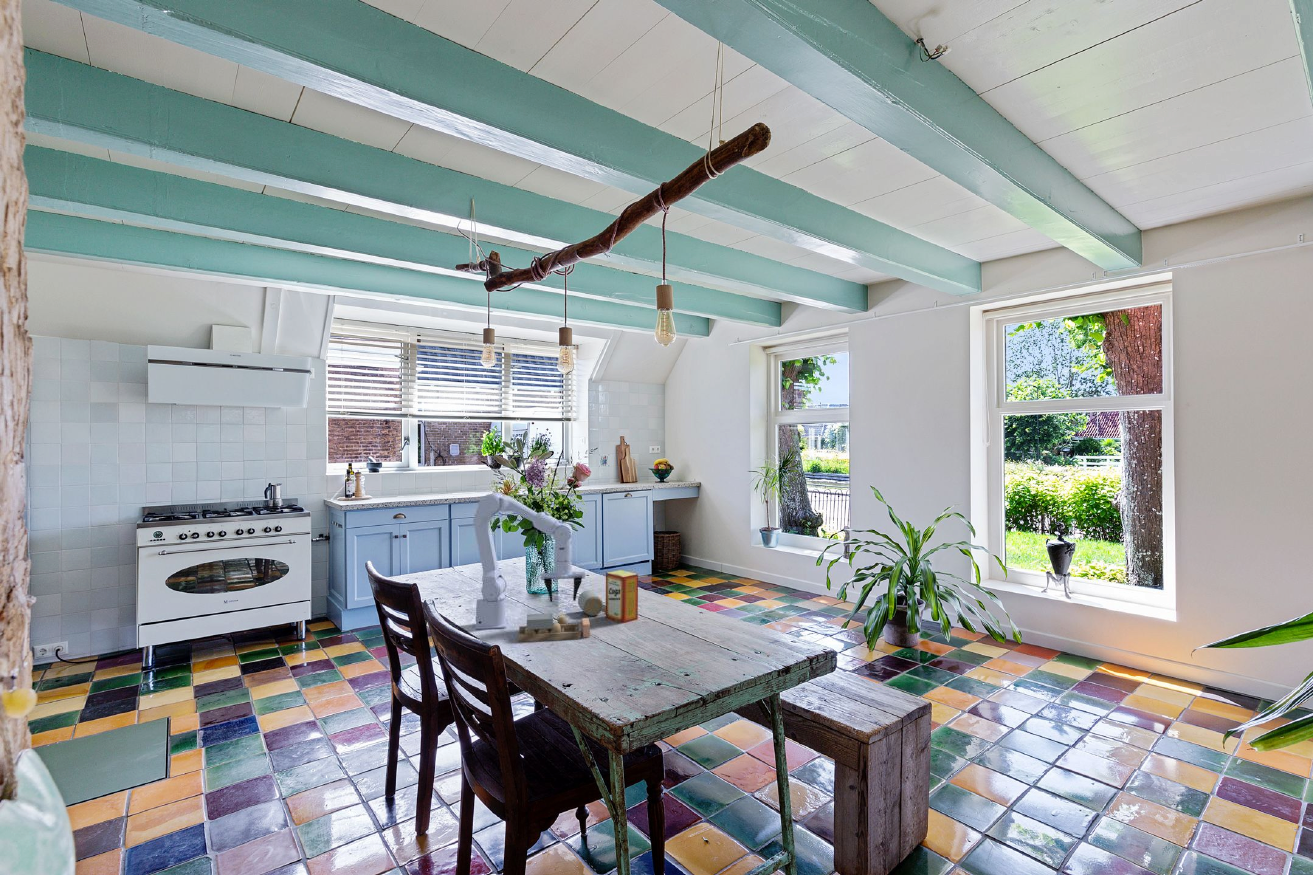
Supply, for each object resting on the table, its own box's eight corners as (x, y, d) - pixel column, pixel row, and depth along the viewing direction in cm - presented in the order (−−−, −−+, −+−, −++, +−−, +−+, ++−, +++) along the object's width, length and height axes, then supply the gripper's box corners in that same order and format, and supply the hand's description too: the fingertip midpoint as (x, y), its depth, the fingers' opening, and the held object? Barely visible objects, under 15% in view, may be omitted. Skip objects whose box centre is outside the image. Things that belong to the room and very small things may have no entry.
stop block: (583, 637, 199) (583, 624, 199) (581, 630, 206) (582, 618, 206) (589, 636, 199) (589, 624, 199) (588, 630, 206) (588, 617, 206)
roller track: (518, 641, 194) (518, 631, 194) (519, 632, 203) (519, 622, 203) (580, 638, 197) (580, 628, 197) (578, 629, 206) (578, 619, 206)
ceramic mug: (584, 617, 220) (584, 595, 220) (577, 611, 227) (577, 590, 227) (612, 615, 224) (613, 593, 224) (605, 609, 232) (605, 588, 232)
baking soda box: (605, 617, 221) (605, 571, 221) (619, 613, 225) (620, 568, 225) (623, 623, 214) (623, 576, 214) (637, 619, 218) (638, 573, 218)
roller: (567, 627, 208) (566, 618, 208) (558, 629, 208) (557, 620, 208) (566, 622, 214) (565, 613, 214) (557, 623, 214) (556, 615, 213)
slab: (526, 629, 196) (526, 619, 196) (527, 623, 202) (527, 614, 202) (552, 628, 197) (552, 618, 197) (552, 622, 203) (552, 613, 203)
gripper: (540, 563, 205) (540, 604, 206) (585, 561, 208) (585, 602, 208) (540, 558, 212) (540, 599, 213) (584, 557, 215) (584, 597, 215)
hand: (562, 600), depth 211 cm, fingers open, 7 cm apart
